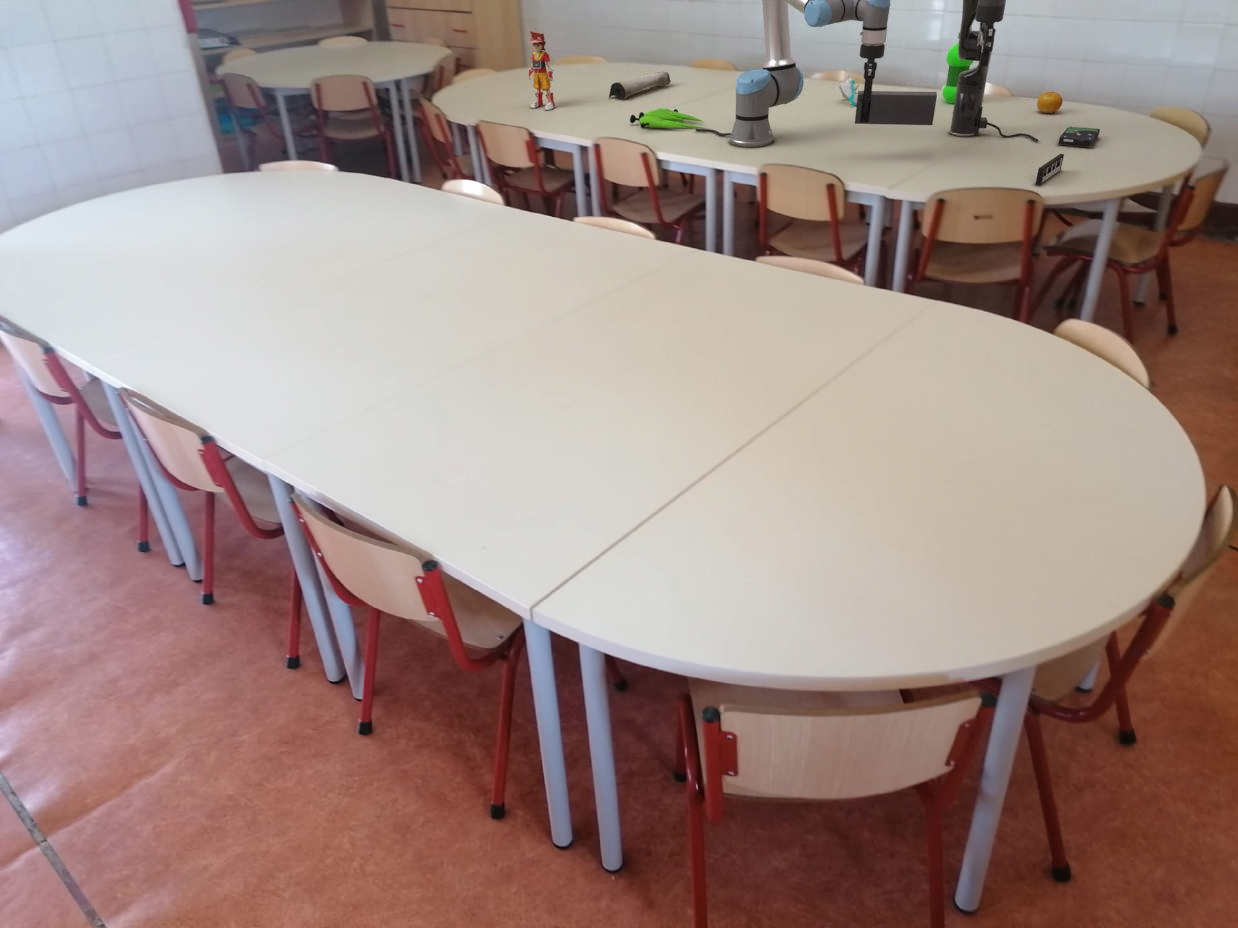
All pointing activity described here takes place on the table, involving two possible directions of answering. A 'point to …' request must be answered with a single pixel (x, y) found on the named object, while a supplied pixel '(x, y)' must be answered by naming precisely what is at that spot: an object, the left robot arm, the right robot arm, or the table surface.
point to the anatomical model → (849, 91)
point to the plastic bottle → (954, 73)
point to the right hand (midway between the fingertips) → (981, 63)
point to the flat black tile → (1049, 169)
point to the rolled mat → (638, 84)
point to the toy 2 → (664, 119)
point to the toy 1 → (541, 71)
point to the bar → (899, 108)
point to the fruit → (1049, 102)
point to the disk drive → (1079, 136)
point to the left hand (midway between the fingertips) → (864, 119)
